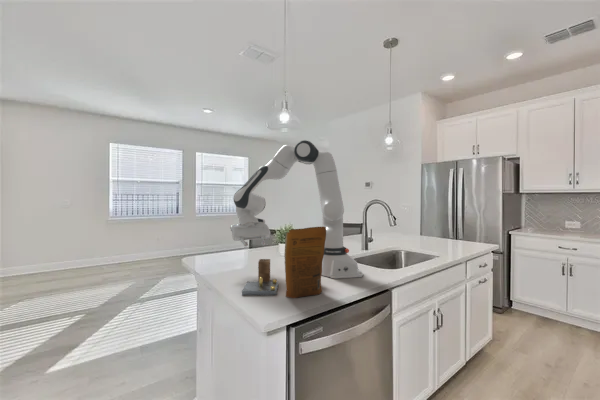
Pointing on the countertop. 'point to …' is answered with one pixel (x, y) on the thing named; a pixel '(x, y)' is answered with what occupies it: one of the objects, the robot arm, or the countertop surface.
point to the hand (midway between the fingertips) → (255, 245)
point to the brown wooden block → (264, 270)
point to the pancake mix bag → (304, 261)
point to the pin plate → (260, 288)
